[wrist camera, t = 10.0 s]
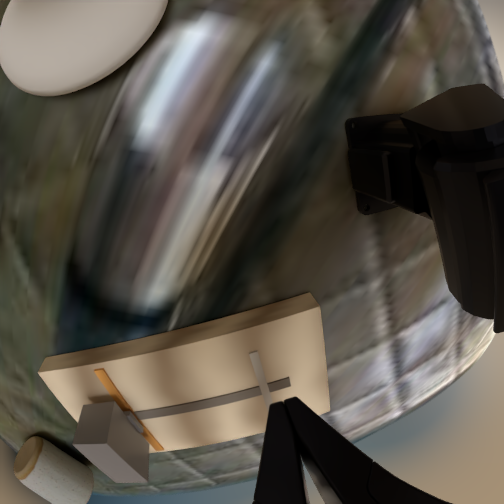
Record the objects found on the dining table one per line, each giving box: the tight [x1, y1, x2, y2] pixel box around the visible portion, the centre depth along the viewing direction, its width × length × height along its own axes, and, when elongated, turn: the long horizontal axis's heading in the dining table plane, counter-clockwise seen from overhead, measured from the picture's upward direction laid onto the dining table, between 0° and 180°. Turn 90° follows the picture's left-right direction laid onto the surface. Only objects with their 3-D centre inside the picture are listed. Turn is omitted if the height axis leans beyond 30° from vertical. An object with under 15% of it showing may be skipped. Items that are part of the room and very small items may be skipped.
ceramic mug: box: [14, 436, 94, 504], centre depth 21 cm, size 11×8×8 cm
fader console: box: [38, 292, 330, 453], centre depth 21 cm, size 22×12×2 cm, turn 103°
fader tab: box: [72, 401, 150, 483], centre depth 18 cm, size 4×6×4 cm, turn 13°
